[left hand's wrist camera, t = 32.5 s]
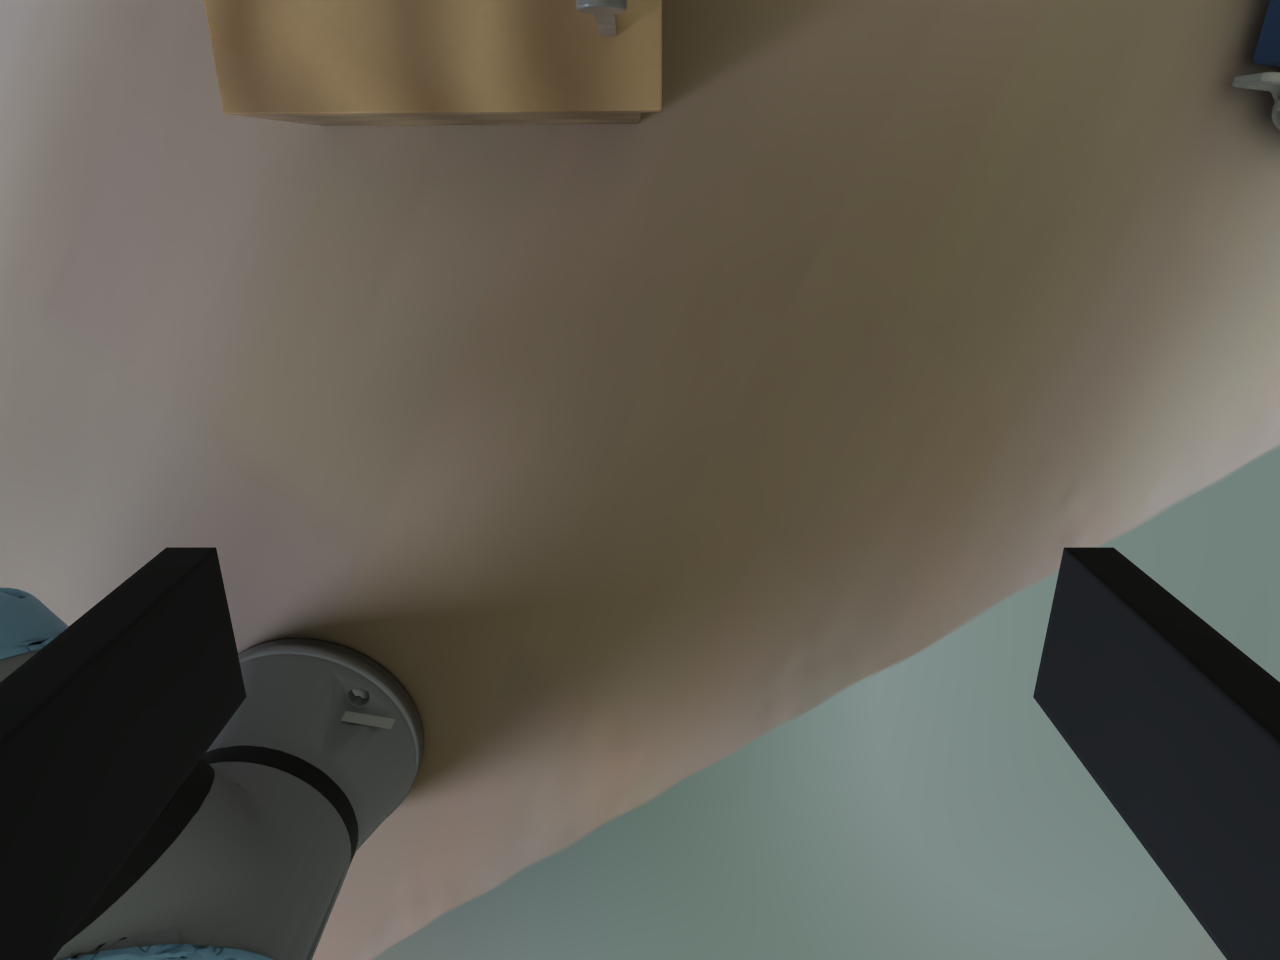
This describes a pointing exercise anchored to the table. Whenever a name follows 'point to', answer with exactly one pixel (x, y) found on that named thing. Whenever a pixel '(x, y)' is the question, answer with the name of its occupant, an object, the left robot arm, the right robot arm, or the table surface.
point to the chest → (459, 119)
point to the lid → (436, 56)
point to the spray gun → (1266, 60)
